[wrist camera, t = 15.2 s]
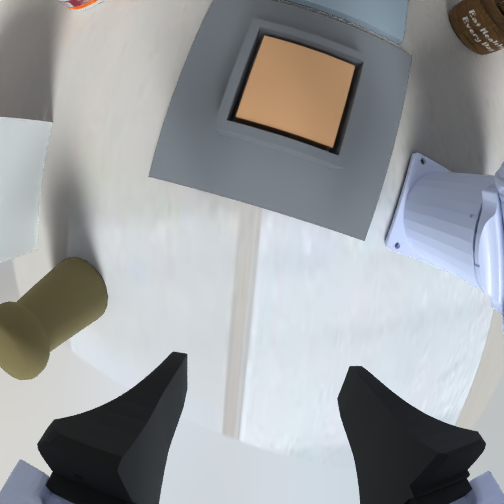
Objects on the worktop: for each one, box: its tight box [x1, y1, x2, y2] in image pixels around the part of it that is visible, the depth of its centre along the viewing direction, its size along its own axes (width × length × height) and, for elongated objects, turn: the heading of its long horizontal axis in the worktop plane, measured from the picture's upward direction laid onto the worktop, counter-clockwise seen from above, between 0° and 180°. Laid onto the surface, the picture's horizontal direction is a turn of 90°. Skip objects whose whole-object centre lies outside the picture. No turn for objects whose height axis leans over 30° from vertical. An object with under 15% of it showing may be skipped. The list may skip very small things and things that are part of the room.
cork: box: [0, 258, 108, 380], centre depth 16 cm, size 6×6×11 cm
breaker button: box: [236, 35, 355, 150], centre depth 16 cm, size 6×6×2 cm
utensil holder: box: [449, 0, 504, 55], centre depth 9 cm, size 6×6×12 cm
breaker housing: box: [148, 0, 412, 241], centre depth 16 cm, size 16×16×4 cm
